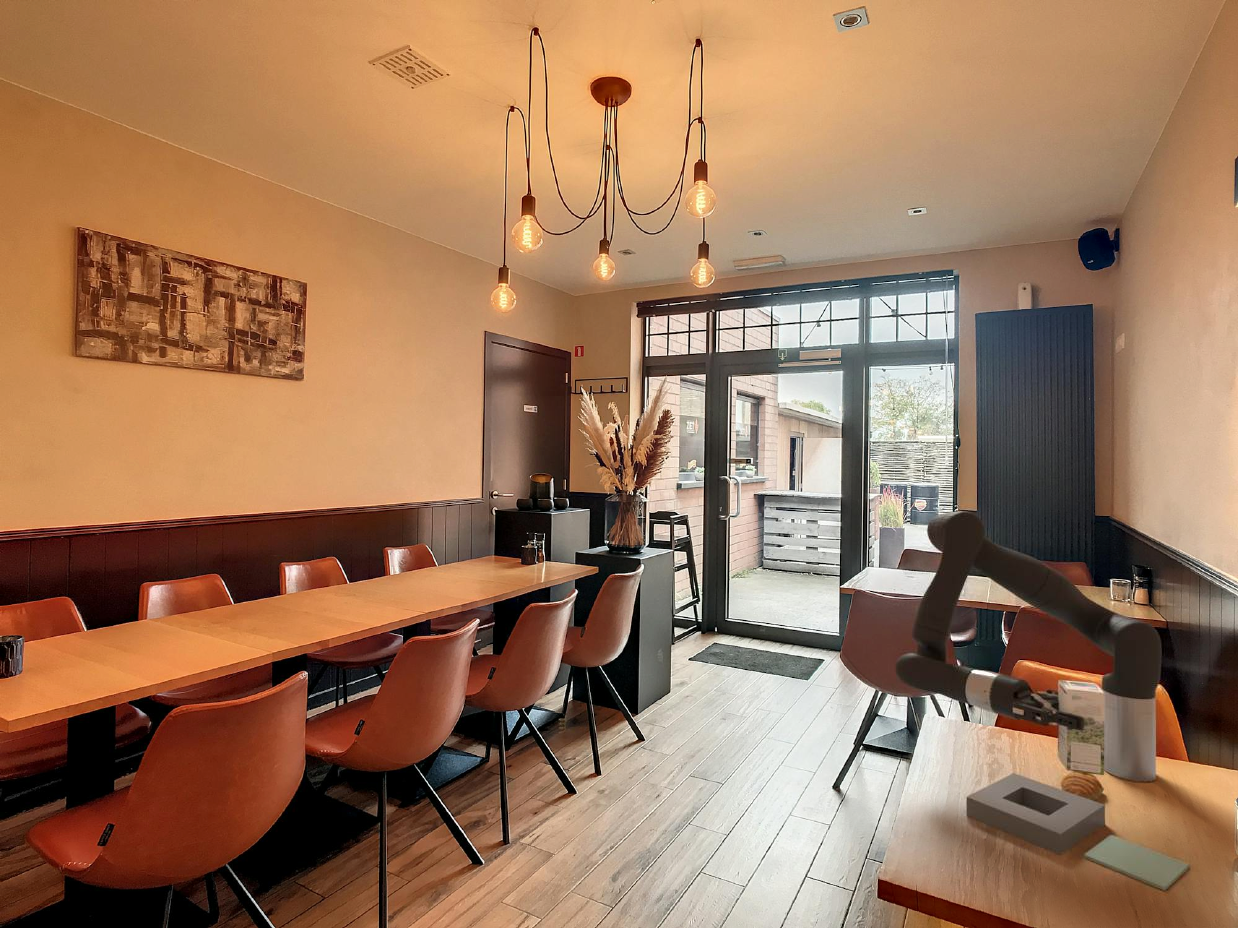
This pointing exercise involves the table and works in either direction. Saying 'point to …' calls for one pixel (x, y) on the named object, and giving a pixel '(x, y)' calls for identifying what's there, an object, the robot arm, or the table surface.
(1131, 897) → the table surface
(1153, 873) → the sage mat
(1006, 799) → the socket block
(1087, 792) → the pastry
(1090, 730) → the syrup box
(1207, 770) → the table surface
